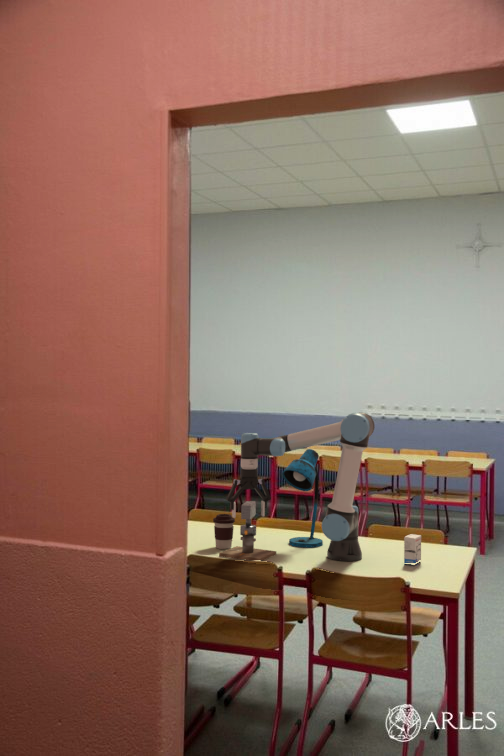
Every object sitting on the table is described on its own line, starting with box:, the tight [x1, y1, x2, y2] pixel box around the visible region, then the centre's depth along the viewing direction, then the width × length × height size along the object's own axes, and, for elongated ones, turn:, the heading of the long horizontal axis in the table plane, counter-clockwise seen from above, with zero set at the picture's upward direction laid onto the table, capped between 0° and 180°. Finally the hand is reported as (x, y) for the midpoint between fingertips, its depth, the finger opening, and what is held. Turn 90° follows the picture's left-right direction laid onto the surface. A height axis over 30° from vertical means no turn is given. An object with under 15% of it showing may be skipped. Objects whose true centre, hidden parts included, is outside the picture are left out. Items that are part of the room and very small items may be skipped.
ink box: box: [403, 533, 422, 564], centre depth 318 cm, size 9×5×12 cm, turn 148°
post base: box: [218, 536, 277, 561], centre depth 328 cm, size 20×16×9 cm
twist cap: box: [239, 500, 257, 537], centre depth 328 cm, size 12×7×14 cm, turn 169°
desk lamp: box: [281, 448, 324, 549], centre depth 352 cm, size 16×22×45 cm
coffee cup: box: [212, 513, 236, 550], centre depth 343 cm, size 10×10×15 cm
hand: (248, 516), depth 328 cm, fingers open, 13 cm apart
